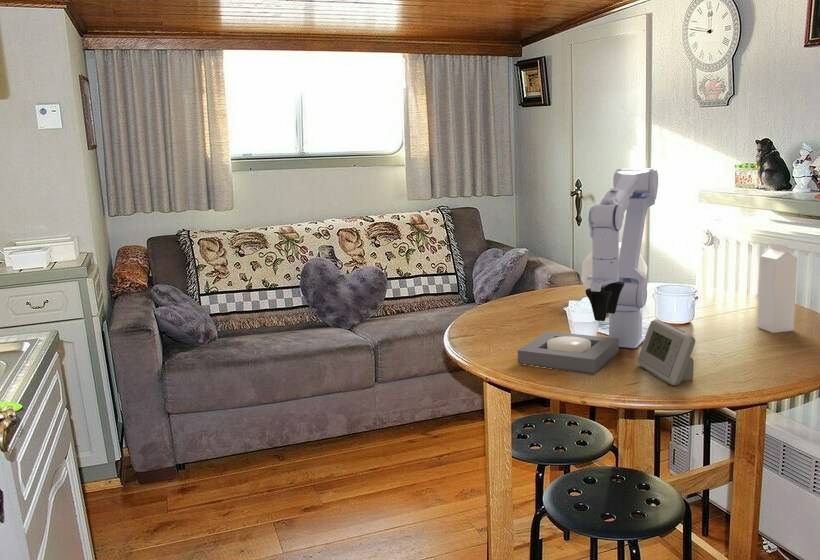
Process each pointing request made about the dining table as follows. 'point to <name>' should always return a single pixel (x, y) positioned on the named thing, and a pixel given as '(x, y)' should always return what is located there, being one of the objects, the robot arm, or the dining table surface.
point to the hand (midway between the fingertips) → (605, 316)
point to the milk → (777, 289)
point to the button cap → (569, 344)
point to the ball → (588, 268)
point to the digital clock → (667, 353)
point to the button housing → (569, 354)
